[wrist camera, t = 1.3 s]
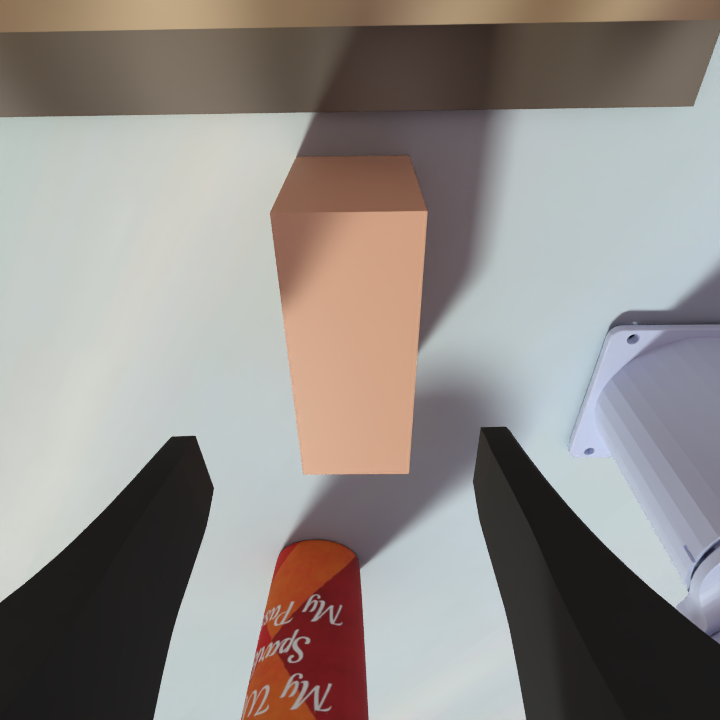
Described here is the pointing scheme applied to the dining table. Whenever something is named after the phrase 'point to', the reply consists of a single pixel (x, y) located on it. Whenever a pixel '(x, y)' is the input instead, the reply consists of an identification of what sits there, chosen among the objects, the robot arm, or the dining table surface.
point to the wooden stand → (349, 55)
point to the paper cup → (311, 639)
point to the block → (351, 307)
